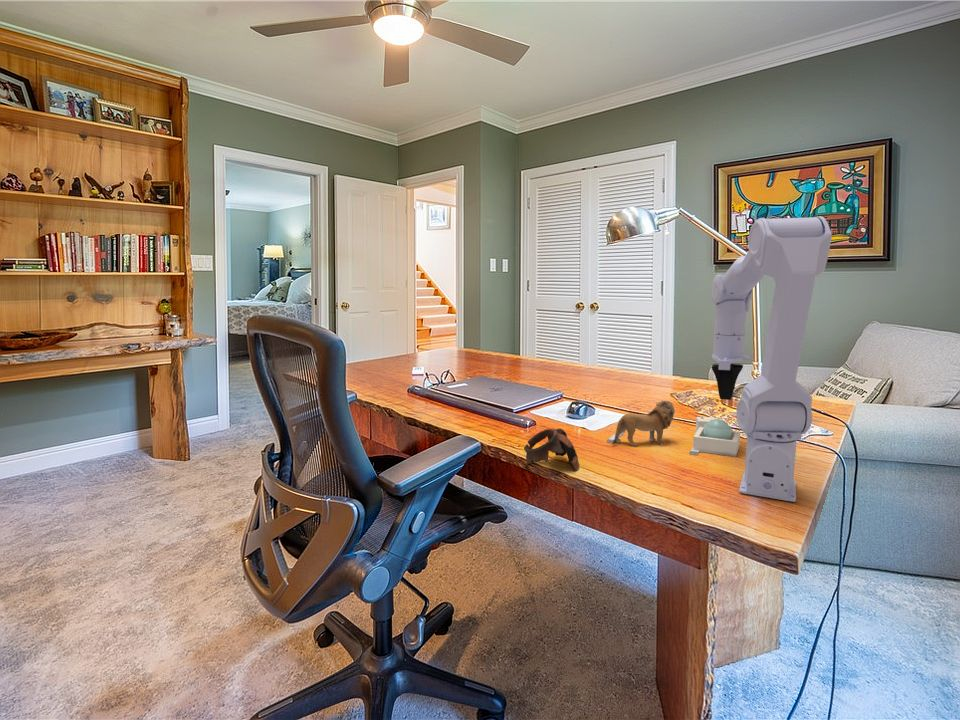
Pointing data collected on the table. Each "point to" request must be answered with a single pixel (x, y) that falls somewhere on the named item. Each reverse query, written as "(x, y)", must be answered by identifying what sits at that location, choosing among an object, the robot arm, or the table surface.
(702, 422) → the die
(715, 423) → the dome plunger
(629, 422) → the lion figurine
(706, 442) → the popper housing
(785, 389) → the robot arm
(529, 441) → the brown twisted loop
